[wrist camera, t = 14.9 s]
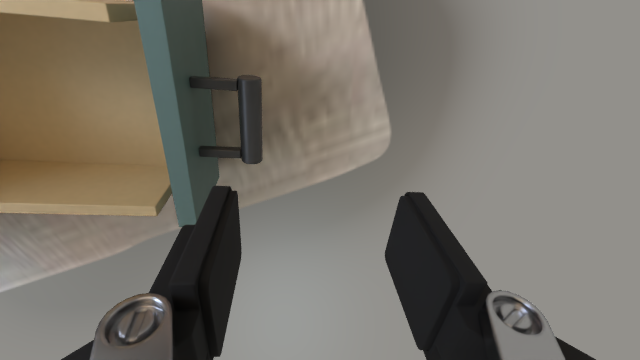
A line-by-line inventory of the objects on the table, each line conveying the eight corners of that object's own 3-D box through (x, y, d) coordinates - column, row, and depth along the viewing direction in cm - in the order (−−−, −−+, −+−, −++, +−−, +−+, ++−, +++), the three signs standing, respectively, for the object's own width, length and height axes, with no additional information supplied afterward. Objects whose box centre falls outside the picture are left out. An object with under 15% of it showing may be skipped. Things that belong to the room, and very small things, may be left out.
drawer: (266, 2, 19) (254, -1, 13) (267, 178, 26) (259, 228, 20) (-96, -35, 17) (-305, -59, 11) (8, 169, 23) (-86, 223, 18)
